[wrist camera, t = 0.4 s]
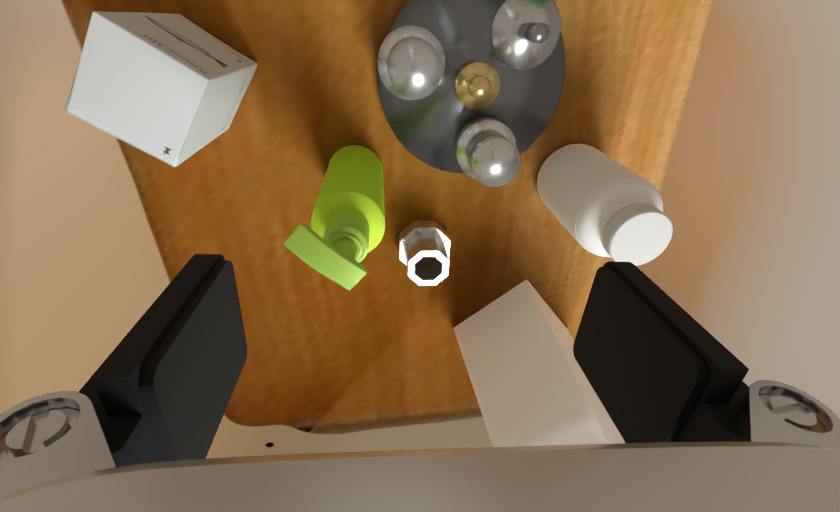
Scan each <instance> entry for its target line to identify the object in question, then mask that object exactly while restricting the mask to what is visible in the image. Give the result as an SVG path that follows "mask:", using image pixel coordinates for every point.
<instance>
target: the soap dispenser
mask: <svg viewBox="0 0 840 512" xmlns="http://www.w3.org/2000/svg"><path fill="white" fill-rule="evenodd" d="M311 228H312V229H311ZM311 228H310V227H309V226H307V225H305V224H299V225H298V227H297V228H296V229H295V230H294V231H293V232H292V233H291V235H290V236H289V237H288V238H287V239H286V240H285V242H284V245H285V246H286V247H287V248H288V249H290V250H291V251H292V252H293V253H294V254H295V255H297V256H298V257H299V258H300V259H301V260H303V261H304V262H305V263H307V264H308V265H309V266H311V267H312V268H313V269H315V270H316V271H318V272H319V273H321V274H323V275H324V276H326V277H327V278H329V279H331V280H332V281H334V282H336V283H337V284H339V285H341V286H342V287H344V288H346V289H348V290H351V289H352V288H353V287H354V286H355V285H356V284H357V283H358V282H359V281H360V280H361V279H362V278H363V277H364V276H365V275H366V274H367V268H366V267H364V266H363V265H361V264H360V262H361V261H362V260H363V259H364V258H365V257H366V255H367V253H368V252H370V251H372V250H373V249H374V248H375V247H376V246H377V245H378V244H379V243H380V241H381V240H382V238H383V235H384V231H385V205H384V176H383V166H382V163H381V161H380V159H379V158H378V156H377V155H376V154H375V153H374V152H373V151H371V150H370V149H368V148H366V147H363V146H359V145H349V146H346V147H343V148H341V149H339V150H338V151H337V152H336V153H335V154H334V155H333V156H332V158H331V160H330V162H329V165H328V168H327V171H326V174H325V177H324V180H323V183H322V186H321V189H320V192H319V195H318V198H317V201H316V204H315V207H314V210H313V213H312V216H311Z"/></svg>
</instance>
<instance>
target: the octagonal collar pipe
mask: <svg viewBox="0 0 840 512" xmlns="http://www.w3.org/2000/svg"><path fill="white" fill-rule="evenodd" d="M449 251H450V238H449V235H448V233H447V232H446V231H445V230H444V229H443V228H442V227H441V226H440V225H439V224H438V223H437V222H436V221H435V220H414V221H413V222H411V223H410V224H409V225H408V226H407V227H406V228H405V229H404V230H402V231H401V232H400V233H399V257H400V260H401V261H402V262H403V263H404V264H405V265H407V272H408V277H410V278H411V279H412V280H413V281H414V282H416V283H417V284H418V285H419V286H433V285H437V284H438V283H439V282H441V281H442V280H443V279H444V278H446V277H447V276H448V272H449Z"/></svg>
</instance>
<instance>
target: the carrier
mask: <svg viewBox="0 0 840 512" xmlns="http://www.w3.org/2000/svg"><path fill="white" fill-rule="evenodd" d="M378 71H379V88H380V97H381V102H382V107H383V110H384V112H385V115H386V118H387V121H388V123H389V125H390V127H391V129H392V131H393V132H394V134H395V135H396V137H397V138H398V140H399V141H400V142H401V143H402V144H403V146H404V147H405V148H406V149H407V150H408V151H409V152H411V153H412V154H413V155H414V156H415V157H417V158H418V159H420V160H421V161H423V162H424V163H426V164H428V165H430V166H432V167H435V168H438V169H441V170H444V171H449V172H454V173H466V174H467V175H468V176H469V177H471V178H473V179H476V180H479V181H480V182H481V183H482V184H484V185H486V186H489V187H499V186H502V185H505V184H507V183H508V182H510V181H511V180H512V179H513V178H514V177H515V176H516V174H517V173H518V171H519V168H520V163H521V158H520V154H521V153H522V152H523V151H525V150H526V149H527V148H528V147H529V146H530V145H531V144H532V143H533V142H534V141H535V140H536V139H537V138H538V137H539V135H540V134H541V133H542V132H543V130H544V129H545V127H546V126H547V124H548V123H549V121H550V119H551V117H552V115H553V113H554V111H555V109H556V106H557V104H558V101H559V99H560V95H561V91H562V87H563V82H564V75H565V53H564V44H563V40H562V36H561V32H560V16H559V12H558V9H557V7H556V5H555V3H554V2H553V1H552V0H409V1H408V2H407V4H406V5H405V6H404V7H403V9H402V10H401V11H400V13H399V14H398V15H397V17H396V19H395V21H394V22H393V24H392V26H391V28H390V30H389V32H388V35H387V36H386V38H385V39H384V40H383V42H382V44H381V46H380V49H379V53H378Z"/></svg>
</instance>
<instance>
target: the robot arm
mask: <svg viewBox="0 0 840 512" xmlns="http://www.w3.org/2000/svg"><path fill="white" fill-rule="evenodd" d="M573 354H574V357H575V359H576V361H577V363H578V364H579V366H580V368H581V369H582V371H583V373H584V374H585V376H586V378H587V379H588V381H589V383H590V384H591V386H592V388H593V389H594V391H595V393H596V394H597V396H598V398H599V399H600V401H601V403H602V404H603V406H604V408H605V409H606V411H607V413H608V414H609V416H610V418H611V419H612V421H613V423H614V424H615V426H616V428H617V429H618V431H619V433H620V434H621V436H622V438H623V439H624V441H625V443H618V444H581V445H545V446H514V447H485V448H484V447H483V448H453V449H423V450H395V451H368V452H342V453H318V454H317V453H316V454H290V455H269V456H268V455H267V456H251V457H250V456H248V457H231V458H230V457H229V458H211V459H205V458H206V456H207V453H208V451H209V449H210V446H211V444H212V441H213V439H214V436H215V434H216V432H217V429H218V427H219V424H220V422H221V419H222V417H223V415H224V412H225V410H226V407H227V405H228V403H229V400H230V398H231V395H232V393H233V390H234V388H235V386H236V383H237V381H238V378H239V376H240V373H241V371H242V369H243V366H244V364H245V361H246V357H247V344H246V338H245V332H244V326H243V321H242V315H241V309H240V303H239V298H238V292H237V286H236V280H235V275H234V269H233V264H232V262H231V261H225V259H224V257H223V256H222V255H216V254H195V255H194V256H193V257H192V258H191V259H190V260H189V262H188V263H187V264H186V265H185V266H184V267H183V269H182V270H181V271H180V272H179V273H178V275H177V276H176V277H175V278H174V279H173V281H172V282H171V283H170V284H169V285H168V286H167V288H166V289H165V290H164V291H163V292H162V294H161V295H160V296H159V297H158V299H156V301H155V302H154V303H153V304H152V305H151V307H150V308H149V309H148V310H147V311H146V313H145V314H144V315H143V316H142V317H141V318H140V320H139V321H138V322H137V323H136V324H135V326H134V327H133V328H132V329H131V330H130V332H129V333H128V334H127V335H126V336H125V337H124V339H123V340H122V341H121V342H120V343H119V345H118V346H117V347H116V348H115V349H114V351H113V352H112V353H111V354H110V355H109V357H108V358H107V359H106V360H105V361H104V362H103V364H102V365H101V366H100V367H99V368H98V370H97V371H96V372H95V373H94V374H93V375H92V377H91V378H90V379H89V380H88V382H87V383H86V384H85V385H84V387H82V389H81V390H80V391H79V392H75V391H59V392H53V393H46V394H44V395H41V396H37V397H34V398H31V399H28V400H26V401H24V402H22V403H20V404H17V405H15V406H13V407H11V408H10V409H8V410H7V411H5V412H4V413H2V414H0V512H840V419H839V418H838V417H837V416H836V415H835V414H834V413H833V412H832V411H831V409H829V408H828V407H827V406H825V405H824V404H823V403H821V402H820V401H819V400H817V399H816V398H814V397H812V396H811V395H809V394H807V393H806V392H803V391H801V390H799V389H797V388H795V387H793V386H790V385H787V384H784V383H780V382H777V381H769V380H760V381H756V382H754V383H752V384H751V385H750V387H748V386H747V385H746V384H745V383H744V382H743V381H742V380H743V379H744V377H745V375H746V374H747V372H748V370H749V369H748V368H747V367H746V366H745V365H744V364H743V363H742V362H740V361H739V360H738V359H737V358H736V357H735V356H734V355H733V354H732V353H731V352H729V351H728V350H727V349H726V348H725V347H724V346H723V345H722V344H721V343H720V342H718V341H717V340H716V339H715V338H714V337H713V336H712V335H711V334H710V333H709V332H708V331H706V330H705V329H704V328H703V327H702V326H701V325H700V324H699V323H697V322H696V321H695V320H694V319H693V318H692V317H691V316H690V315H689V314H687V312H686V311H684V310H683V309H682V308H681V307H680V306H679V305H678V304H676V302H674V301H673V300H672V299H671V298H670V297H669V296H668V295H667V294H666V293H665V292H664V291H662V290H661V289H660V288H659V287H658V286H657V285H656V284H655V283H654V282H652V281H651V280H650V279H649V278H648V277H647V276H646V275H645V274H644V273H643V272H642V271H640V270H639V269H638V268H637V267H636V266H635V265H634V264H633V263H631V262H607V263H605V264H604V266H603V267H600V268H599V269H598V270H597V272H596V275H595V279H594V282H593V285H592V288H591V291H590V294H589V297H588V301H587V304H586V307H585V310H584V313H583V316H582V320H581V323H580V326H579V329H578V332H577V335H576V338H575V342H574V345H573Z"/></svg>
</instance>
